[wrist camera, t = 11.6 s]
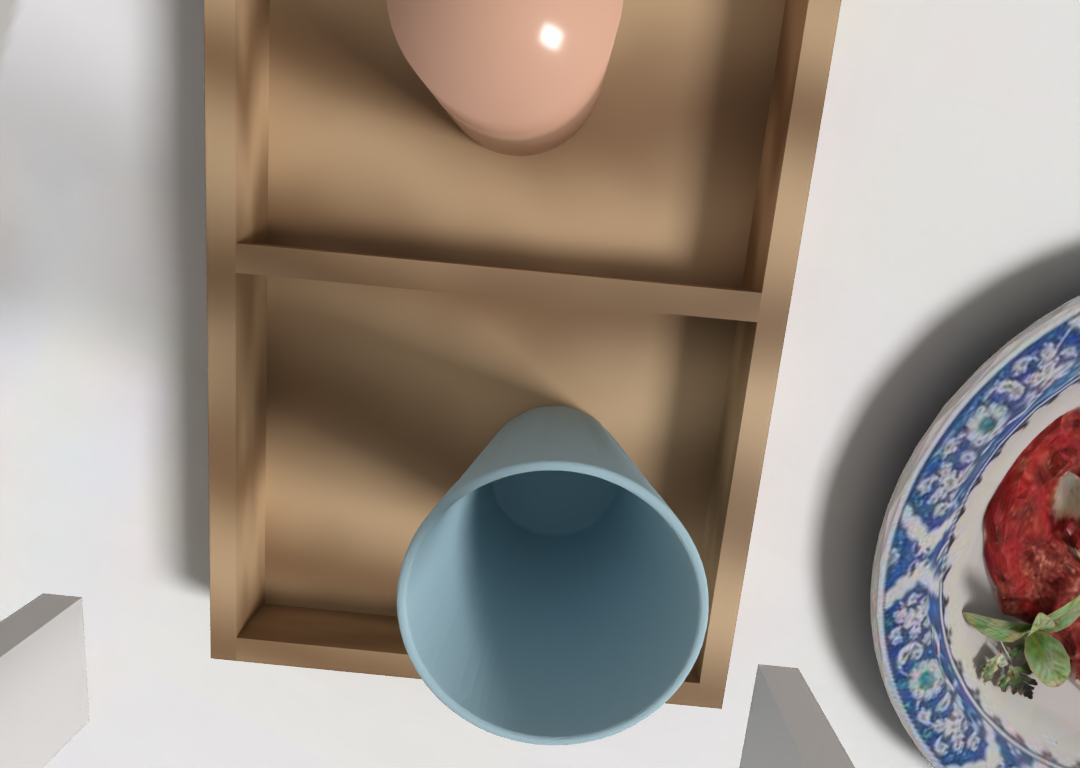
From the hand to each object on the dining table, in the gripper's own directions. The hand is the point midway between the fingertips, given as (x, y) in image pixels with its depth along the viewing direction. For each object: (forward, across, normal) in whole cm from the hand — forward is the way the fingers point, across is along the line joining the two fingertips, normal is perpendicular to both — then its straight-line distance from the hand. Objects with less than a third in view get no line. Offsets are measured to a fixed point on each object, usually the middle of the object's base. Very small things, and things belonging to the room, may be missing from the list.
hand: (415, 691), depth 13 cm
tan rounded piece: (+14, 0, +15) cm, 20 cm away
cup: (+14, +3, 0) cm, 14 cm away
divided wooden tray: (+15, 0, +7) cm, 17 cm away
